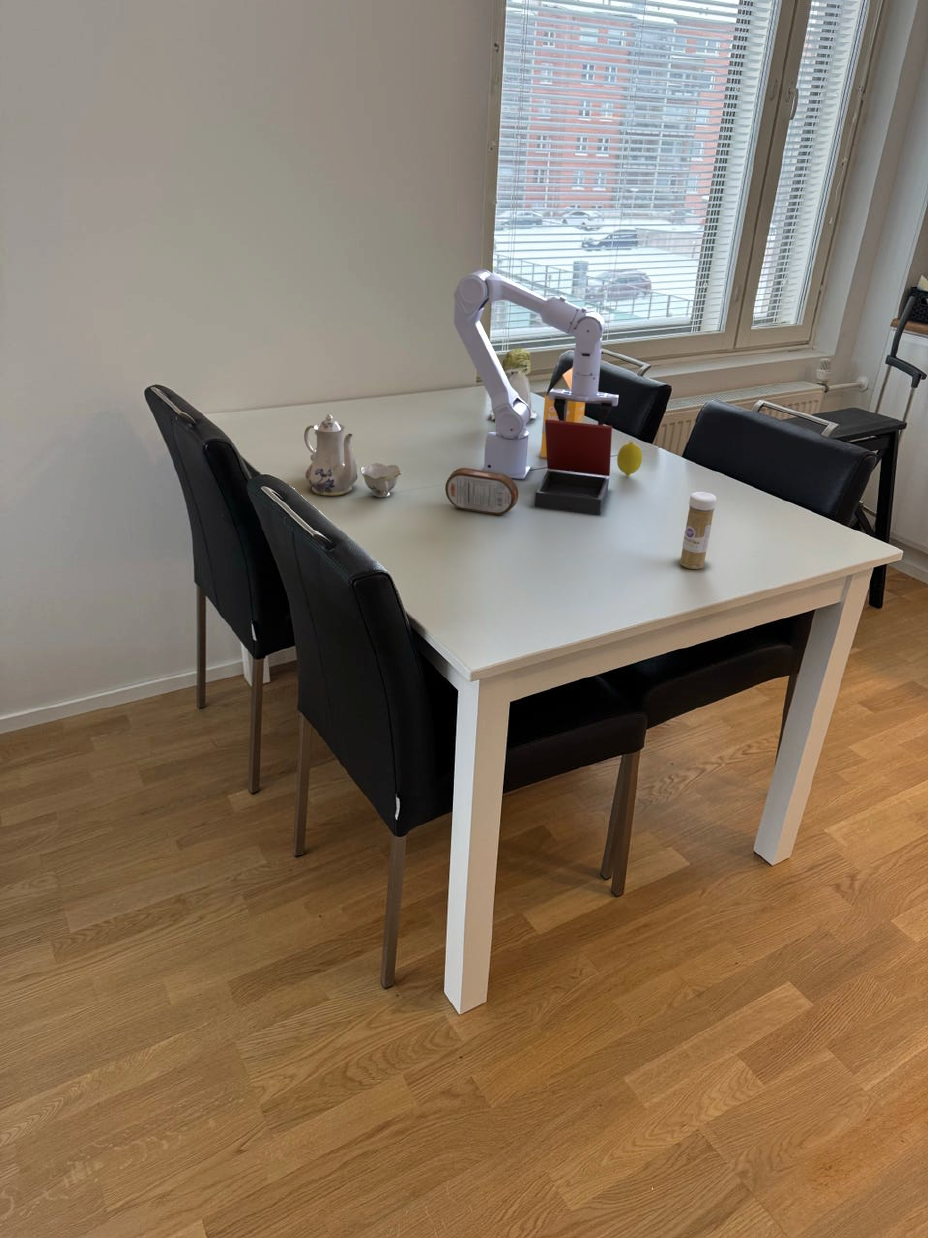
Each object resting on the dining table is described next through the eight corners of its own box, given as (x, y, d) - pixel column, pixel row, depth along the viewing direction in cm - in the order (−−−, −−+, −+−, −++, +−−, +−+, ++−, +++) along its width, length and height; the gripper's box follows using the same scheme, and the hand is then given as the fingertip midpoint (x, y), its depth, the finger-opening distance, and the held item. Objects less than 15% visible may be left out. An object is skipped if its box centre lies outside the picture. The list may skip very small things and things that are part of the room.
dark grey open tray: (599, 515, 187) (601, 500, 185) (534, 507, 190) (535, 492, 188) (607, 491, 199) (609, 476, 198) (546, 483, 202) (547, 469, 200)
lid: (611, 428, 184) (614, 414, 186) (544, 422, 187) (548, 407, 188) (609, 476, 197) (611, 462, 199) (547, 469, 200) (550, 455, 202)
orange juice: (539, 457, 218) (546, 372, 209) (550, 446, 225) (557, 364, 216) (571, 461, 216) (579, 376, 206) (581, 451, 223) (589, 368, 213)
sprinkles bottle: (674, 564, 167) (685, 495, 160) (686, 557, 170) (698, 489, 163) (697, 572, 164) (709, 502, 158) (709, 564, 167) (721, 495, 161)
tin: (517, 513, 186) (520, 474, 182) (513, 519, 183) (515, 479, 179) (448, 502, 190) (449, 464, 186) (443, 508, 187) (443, 468, 183)
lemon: (639, 480, 206) (643, 446, 202) (614, 478, 207) (618, 444, 203) (640, 472, 211) (644, 439, 207) (615, 470, 211) (619, 436, 208)
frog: (546, 418, 247) (552, 349, 238) (518, 427, 238) (523, 356, 230) (511, 409, 254) (516, 341, 245) (482, 418, 245) (486, 348, 236)
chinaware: (415, 501, 194) (421, 423, 188) (355, 513, 183) (360, 431, 176) (330, 468, 211) (333, 396, 204) (270, 478, 199) (272, 401, 192)
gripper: (548, 373, 191) (544, 437, 198) (618, 379, 188) (611, 443, 195) (554, 366, 197) (550, 427, 204) (621, 371, 194) (615, 434, 201)
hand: (580, 435), depth 200 cm, fingers open, 7 cm apart
